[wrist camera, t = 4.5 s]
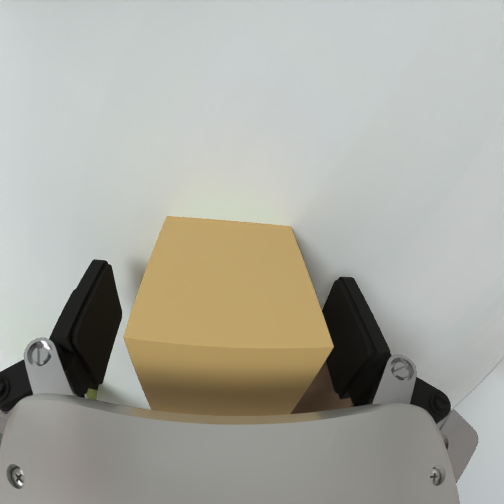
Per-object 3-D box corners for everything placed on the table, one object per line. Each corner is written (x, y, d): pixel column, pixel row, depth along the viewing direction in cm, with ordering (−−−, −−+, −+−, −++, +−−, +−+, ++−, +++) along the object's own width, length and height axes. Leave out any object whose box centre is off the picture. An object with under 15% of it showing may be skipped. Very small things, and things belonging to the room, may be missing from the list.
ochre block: (290, 225, 11) (333, 347, 6) (269, 311, 14) (286, 419, 9) (167, 215, 10) (123, 337, 6) (171, 304, 13) (154, 415, 8)
